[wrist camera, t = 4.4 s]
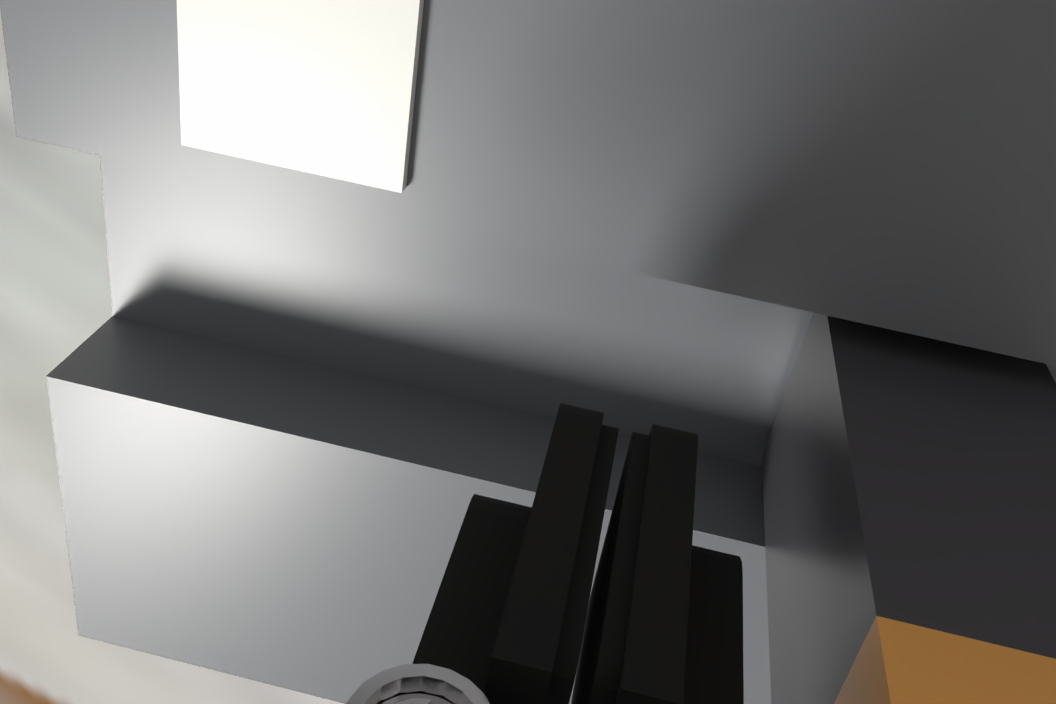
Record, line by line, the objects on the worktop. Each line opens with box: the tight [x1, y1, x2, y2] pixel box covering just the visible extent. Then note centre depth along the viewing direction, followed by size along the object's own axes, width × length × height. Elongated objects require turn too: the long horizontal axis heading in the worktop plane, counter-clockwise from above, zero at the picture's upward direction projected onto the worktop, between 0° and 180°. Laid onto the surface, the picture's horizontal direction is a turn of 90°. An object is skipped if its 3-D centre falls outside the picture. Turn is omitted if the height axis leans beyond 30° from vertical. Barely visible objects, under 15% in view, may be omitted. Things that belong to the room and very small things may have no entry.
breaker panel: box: [0, 0, 1056, 704], centre depth 16 cm, size 20×16×4 cm
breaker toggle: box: [762, 313, 1056, 704], centre depth 12 cm, size 3×3×8 cm
